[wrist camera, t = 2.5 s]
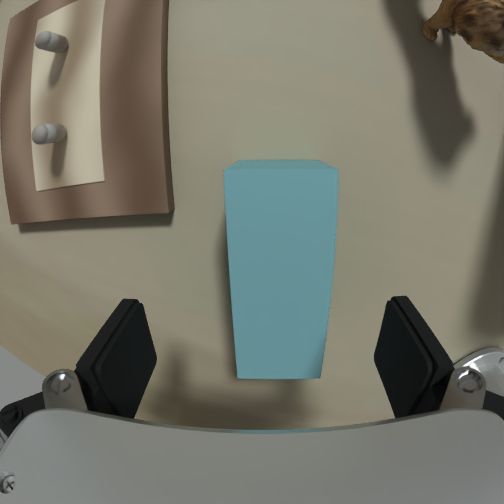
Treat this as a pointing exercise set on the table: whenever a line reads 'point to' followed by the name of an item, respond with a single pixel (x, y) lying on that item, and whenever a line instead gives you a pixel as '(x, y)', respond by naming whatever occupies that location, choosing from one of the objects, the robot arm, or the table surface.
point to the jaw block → (280, 264)
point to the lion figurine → (472, 24)
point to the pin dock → (86, 110)
